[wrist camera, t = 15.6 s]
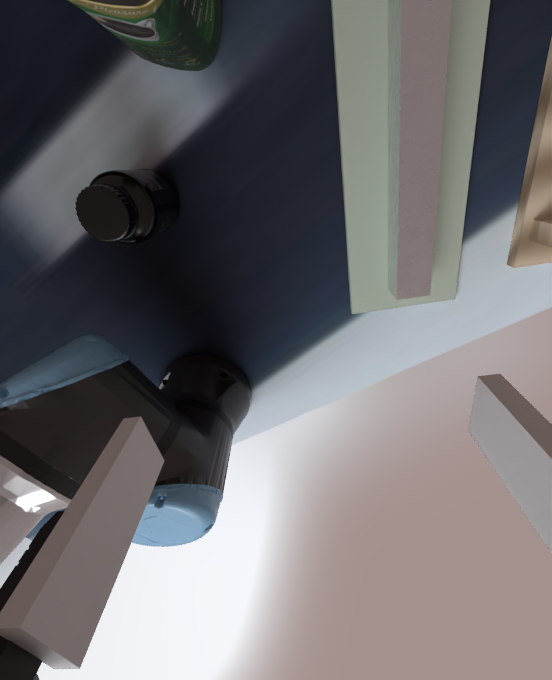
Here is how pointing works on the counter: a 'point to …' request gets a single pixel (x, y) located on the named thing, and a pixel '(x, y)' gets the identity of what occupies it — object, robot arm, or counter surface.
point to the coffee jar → (162, 28)
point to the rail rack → (536, 188)
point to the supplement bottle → (127, 205)
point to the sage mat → (372, 145)
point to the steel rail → (414, 138)
